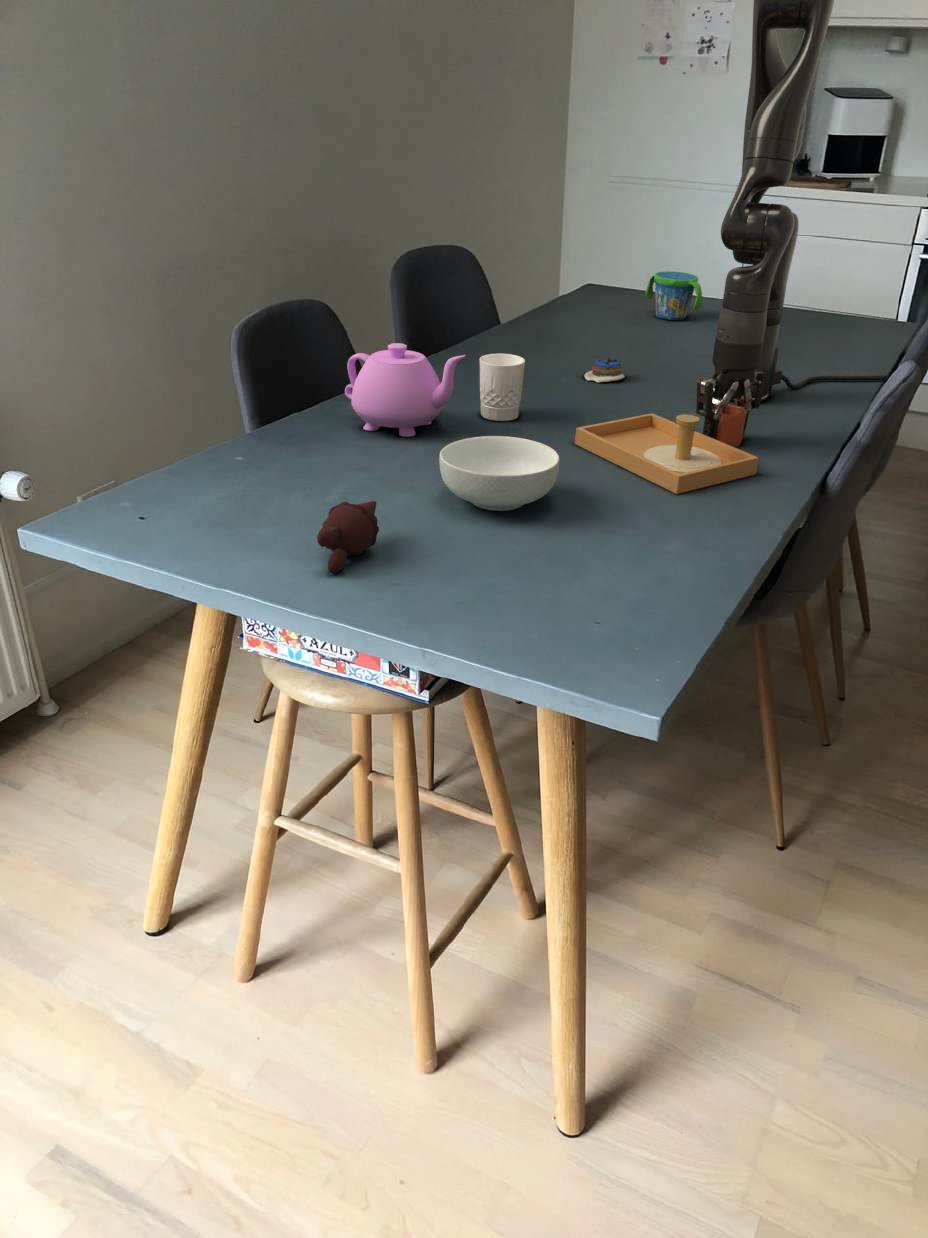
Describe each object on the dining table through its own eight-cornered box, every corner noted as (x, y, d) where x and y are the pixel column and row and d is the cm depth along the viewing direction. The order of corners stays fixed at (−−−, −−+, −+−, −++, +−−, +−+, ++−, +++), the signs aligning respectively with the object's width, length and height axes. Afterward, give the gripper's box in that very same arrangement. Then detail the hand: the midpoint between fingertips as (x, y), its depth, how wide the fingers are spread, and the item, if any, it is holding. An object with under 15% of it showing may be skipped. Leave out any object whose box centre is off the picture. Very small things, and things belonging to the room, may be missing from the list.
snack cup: (709, 321, 246) (715, 278, 241) (678, 326, 241) (684, 282, 236) (663, 309, 257) (668, 267, 252) (633, 313, 252) (638, 271, 247)
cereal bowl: (568, 488, 149) (572, 443, 146) (539, 532, 135) (542, 482, 132) (460, 472, 154) (462, 427, 150) (421, 512, 140) (421, 464, 136)
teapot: (479, 422, 175) (482, 342, 168) (444, 449, 162) (446, 365, 155) (366, 404, 182) (364, 327, 175) (324, 429, 169) (320, 347, 162)
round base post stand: (683, 445, 165) (689, 401, 161) (736, 468, 156) (744, 423, 152) (627, 457, 159) (632, 412, 156) (679, 482, 150) (686, 435, 147)
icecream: (342, 480, 133) (289, 532, 121) (392, 475, 130) (342, 528, 118) (357, 526, 136) (307, 582, 124) (406, 523, 133) (359, 579, 121)
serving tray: (650, 428, 174) (652, 412, 173) (755, 474, 156) (758, 457, 155) (574, 443, 166) (575, 427, 165) (676, 494, 148) (679, 476, 147)
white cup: (518, 424, 174) (521, 367, 169) (473, 420, 176) (475, 363, 171) (524, 410, 181) (528, 355, 176) (482, 406, 182) (484, 351, 177)
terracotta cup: (722, 433, 173) (727, 402, 170) (748, 443, 169) (754, 411, 166) (697, 438, 170) (702, 407, 168) (722, 449, 166) (728, 417, 163)
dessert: (625, 369, 204) (625, 350, 198) (624, 395, 201) (624, 376, 195) (585, 369, 205) (584, 350, 200) (583, 396, 202) (583, 377, 197)
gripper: (724, 347, 155) (708, 450, 163) (788, 336, 162) (770, 436, 170) (690, 336, 160) (676, 436, 168) (754, 326, 167) (737, 424, 175)
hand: (723, 436), depth 169 cm, fingers closed on terracotta cup, 6 cm apart
